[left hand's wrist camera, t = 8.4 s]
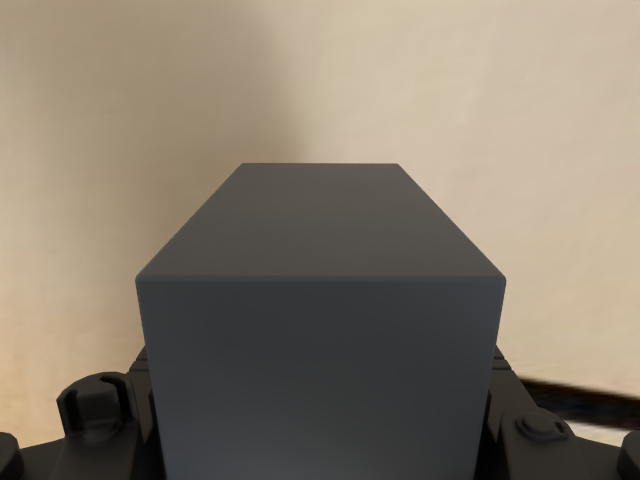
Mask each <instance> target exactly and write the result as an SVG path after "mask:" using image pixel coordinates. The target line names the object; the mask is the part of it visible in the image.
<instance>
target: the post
mask: <svg viewBox="0 0 640 480" xmlns="http://www.w3.org/2000/svg"><path fill="white" fill-rule="evenodd" d="M135 283H136V289H137V295H138V302H139V308H140V314H141V320H142V327H143V333H144V339H145V346H146V352H147V358H148V364H149V371H150V377H151V383H152V390H153V396H154V402H155V408H156V415H157V421H158V427H159V434H160V440H161V446H162V453H163V459H164V465H165V471H166V478H167V480H473V478H474V472H475V466H476V460H477V454H478V448H479V442H480V436H481V430H482V424H483V418H484V412H485V406H486V400H487V395H488V389H489V383H490V377H491V371H492V365H493V359H494V353H495V347H496V341H497V335H498V329H499V323H500V317H501V311H502V305H503V299H504V293H505V287H506V278H505V276H504V275H503V274H502V273H501V272H500V271H499V270H498V269H497V268H496V267H495V266H494V265H493V264H492V262H491V261H490V260H489V259H488V258H487V257H486V256H485V255H484V254H483V253H482V252H481V251H480V250H479V249H478V248H477V247H476V246H475V245H474V244H473V242H472V241H471V240H470V239H469V238H468V237H467V236H466V235H465V234H464V233H463V232H462V231H461V230H460V229H459V228H458V227H457V226H456V225H455V223H454V222H453V221H452V220H451V219H450V218H449V217H448V216H447V215H446V214H445V213H444V212H443V211H442V210H441V209H440V208H439V207H438V206H437V205H436V203H435V202H434V201H433V200H432V199H431V198H430V197H429V196H428V195H427V194H426V193H425V192H424V191H423V190H422V189H421V188H420V187H419V186H418V185H417V183H416V182H415V181H414V180H413V179H412V178H411V177H410V176H409V175H408V174H407V173H406V172H405V171H404V170H403V169H402V168H401V167H400V166H399V165H398V164H332V163H243V164H241V165H240V166H239V167H238V168H237V169H236V170H235V171H234V172H233V174H232V175H231V176H230V177H229V178H228V179H227V180H226V181H225V182H224V183H223V184H222V185H221V186H220V187H219V188H218V190H217V191H216V192H215V193H214V194H213V195H212V196H211V197H210V198H209V199H208V200H207V201H206V202H205V203H204V205H203V206H202V207H201V208H200V209H199V210H198V211H197V212H196V213H195V214H194V215H193V216H192V217H191V218H190V219H189V221H188V222H187V223H186V224H185V225H184V226H183V227H182V228H181V229H180V230H179V231H178V232H177V233H176V234H175V235H174V237H173V238H172V239H171V240H170V241H169V242H168V243H167V244H166V245H165V246H164V247H163V248H162V249H161V250H160V251H159V253H158V254H157V255H156V256H155V257H154V258H153V259H152V260H151V261H150V262H149V263H148V264H147V265H146V266H145V267H144V269H143V270H142V271H141V272H140V273H139V274H138V275H137V276H136V279H135Z"/></svg>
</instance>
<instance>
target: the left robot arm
mask: <svg viewBox="0 0 640 480" xmlns="http://www.w3.org/2000/svg"><path fill="white" fill-rule="evenodd" d="M56 401H57V405H58V409H59V413H60V417H61V421H62V425H63V428H64V432H65V437H64V438H62V439H59V440H56V441H52V442H48V443H44V444H40V445H35V446H31V447H27V448H23V449H20V448H19V445H18V441H17V439H16V438H15V437H14V436H13V435H11V434H10V433H4V432H0V480H167V478H166V471H165V465H164V459H163V453H162V446H161V440H160V434H159V427H158V421H157V415H156V408H155V402H154V396H153V390H152V383H151V377H150V371H149V364H148V358H147V352H146V346H144V348H143V349H142V351H141V352H140V354H139V355H138V357H137V358H136V361H134V363H133V364H132V366H131V367H130V369H129V372H127V373H126V374H123V373H119V372H101V373H97V374H93V375H89V376H87V377H85V378H82V379H80V380H78V381H76V382H74V383H73V384H71V385H70V386H69V387H67V388H66V389H65V390H63V391H62V393H61V394H60V395H59V397H58V398H57V400H56ZM473 480H640V430H638V431H632V432H630V433H629V434H627V435H626V436H625V437H624V439H623V442H622V446H621V447H617V446H613V445H608V444H604V443H600V442H595V441H591V440H587V439H584V438H581V437H577V436H575V434H574V433H573V431H572V430H571V428H570V427H569V425H568V424H567V423H566V422H564V421H563V420H562V419H561V418H560V417H558V416H557V415H555V414H553V413H551V412H549V411H547V410H545V409H543V408H539V407H537V405H536V404H535V402H534V401H533V399H532V398H531V396H530V395H529V393H528V392H527V390H526V389H525V387H524V386H523V384H522V383H521V381H520V380H519V378H518V377H517V375H516V374H515V372H514V371H513V370H511V366H510V365H509V363H508V362H507V360H505V359H504V356H503V354H502V353H501V351H500V350H499V348H498V347H497V345H496V347H495V353H494V359H493V365H492V371H491V377H490V383H489V389H488V395H487V400H486V406H485V412H484V418H483V424H482V430H481V436H480V442H479V448H478V454H477V460H476V466H475V472H474V478H473Z"/></svg>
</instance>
